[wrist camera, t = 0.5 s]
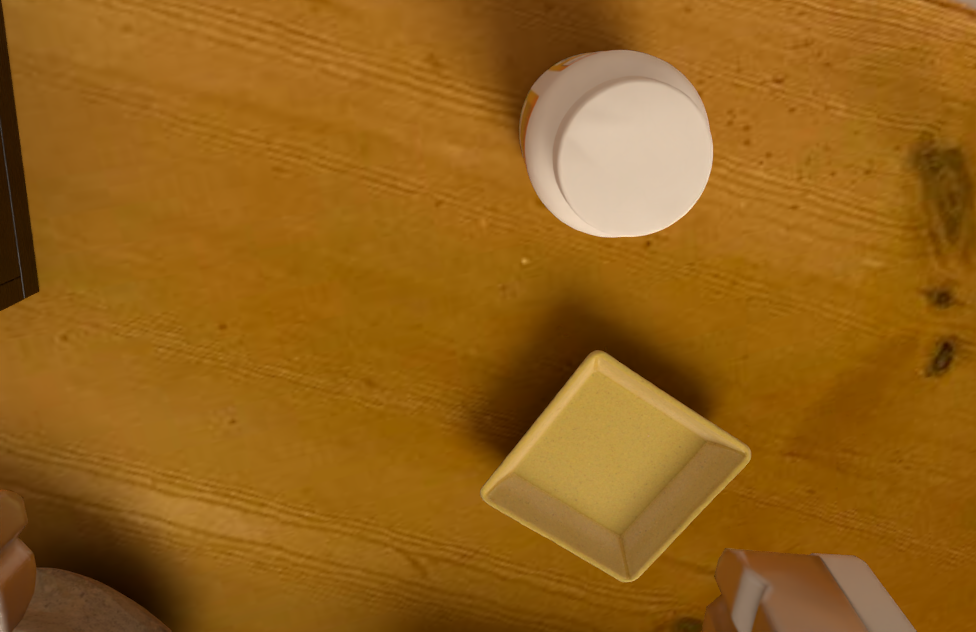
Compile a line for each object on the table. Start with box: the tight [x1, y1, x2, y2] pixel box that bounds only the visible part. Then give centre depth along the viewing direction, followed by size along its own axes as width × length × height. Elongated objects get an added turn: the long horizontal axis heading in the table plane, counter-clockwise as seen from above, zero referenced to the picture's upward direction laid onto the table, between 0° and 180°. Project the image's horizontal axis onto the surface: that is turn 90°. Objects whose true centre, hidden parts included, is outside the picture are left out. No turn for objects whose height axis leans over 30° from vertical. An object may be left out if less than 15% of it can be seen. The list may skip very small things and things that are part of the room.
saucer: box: [480, 350, 751, 582], centre depth 30 cm, size 9×9×2 cm
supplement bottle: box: [519, 50, 713, 237], centre depth 22 cm, size 5×5×10 cm
